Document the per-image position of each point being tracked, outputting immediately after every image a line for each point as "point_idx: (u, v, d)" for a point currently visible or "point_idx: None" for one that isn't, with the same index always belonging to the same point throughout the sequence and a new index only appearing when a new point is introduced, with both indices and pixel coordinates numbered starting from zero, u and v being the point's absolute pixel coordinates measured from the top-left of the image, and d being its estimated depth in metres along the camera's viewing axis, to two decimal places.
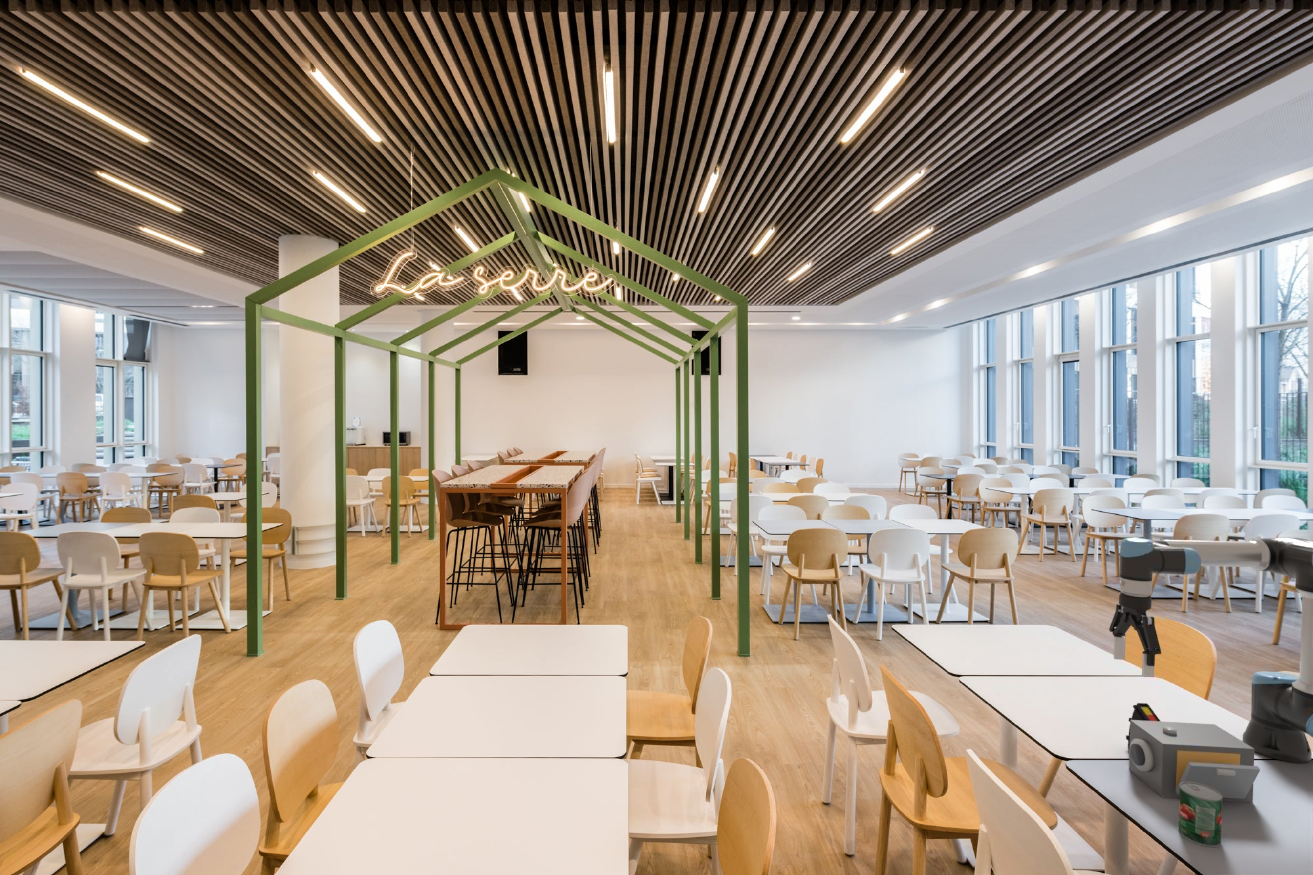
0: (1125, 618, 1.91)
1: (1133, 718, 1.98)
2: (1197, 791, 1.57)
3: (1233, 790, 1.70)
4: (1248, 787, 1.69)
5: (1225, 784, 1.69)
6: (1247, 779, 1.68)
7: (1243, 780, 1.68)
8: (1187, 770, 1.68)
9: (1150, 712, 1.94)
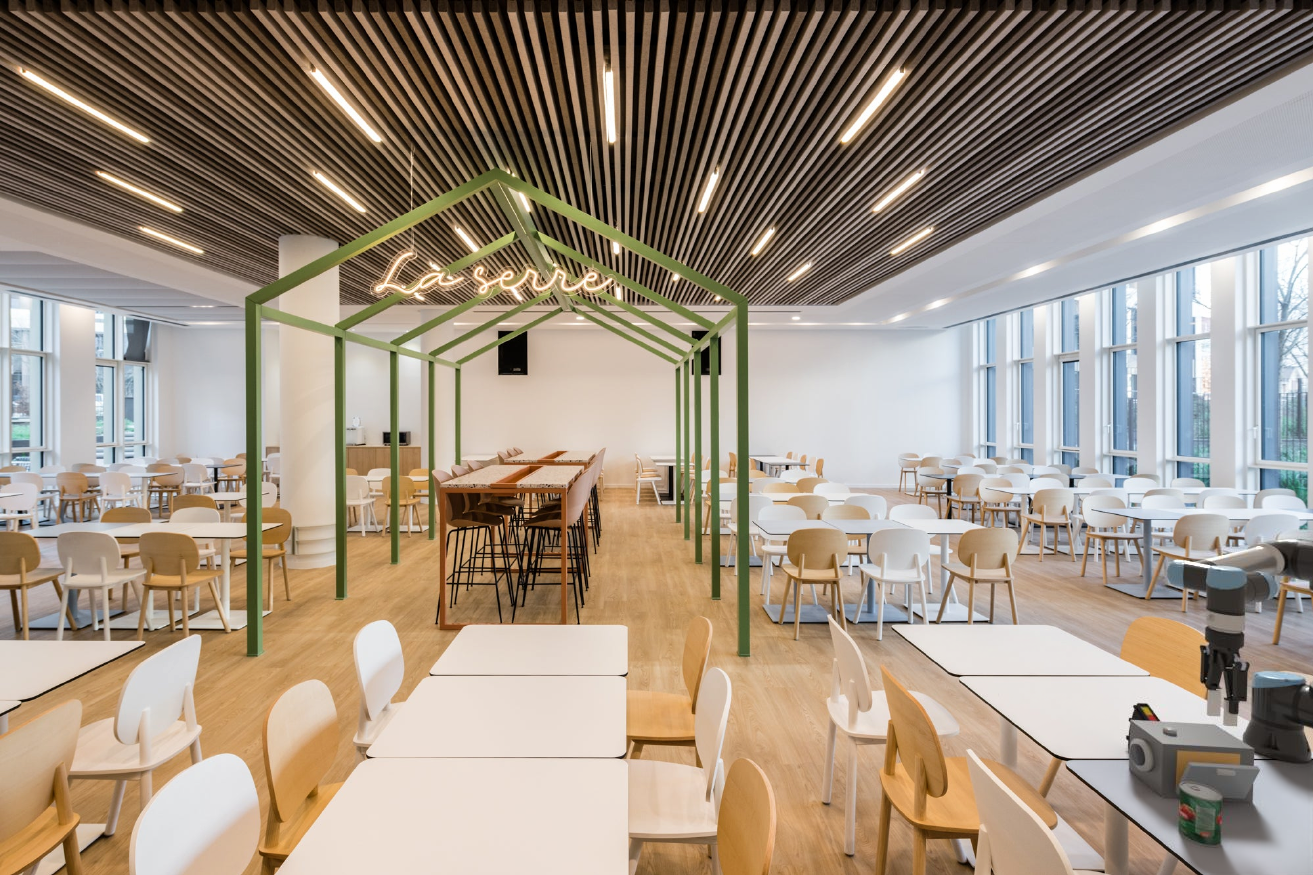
0: (1214, 657, 1.69)
1: (1133, 718, 1.98)
2: (1197, 791, 1.57)
3: (1233, 790, 1.70)
4: (1248, 787, 1.69)
5: (1225, 784, 1.69)
6: (1247, 779, 1.68)
7: (1243, 780, 1.68)
8: (1187, 770, 1.68)
9: (1150, 712, 1.94)
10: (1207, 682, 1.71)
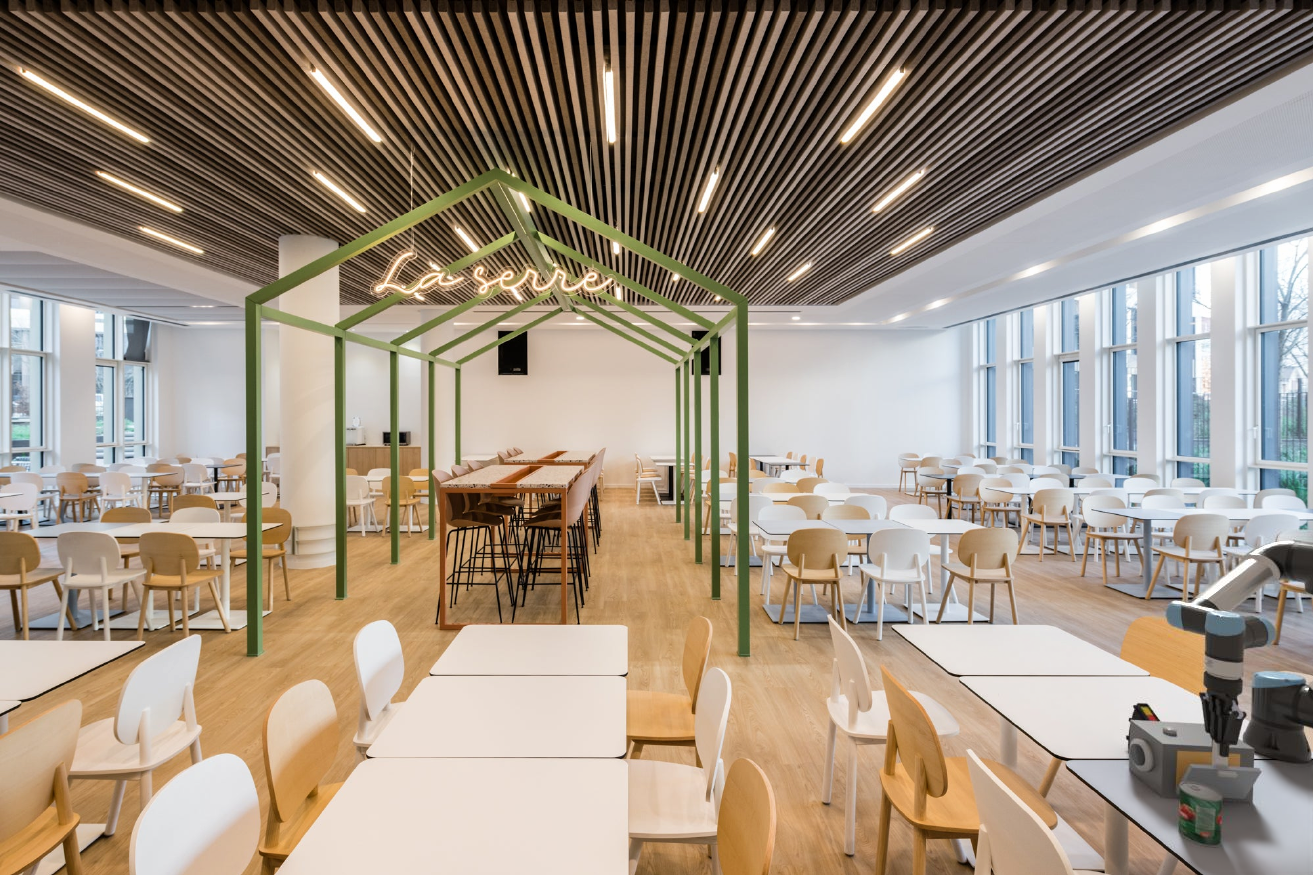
0: (1213, 702, 1.69)
1: (1133, 718, 1.98)
2: (1197, 791, 1.57)
3: (1234, 790, 1.69)
4: (1248, 788, 1.69)
5: (1226, 785, 1.69)
6: (1248, 780, 1.67)
7: (1244, 781, 1.68)
8: (1188, 771, 1.68)
9: (1150, 712, 1.94)
10: (1211, 732, 1.70)
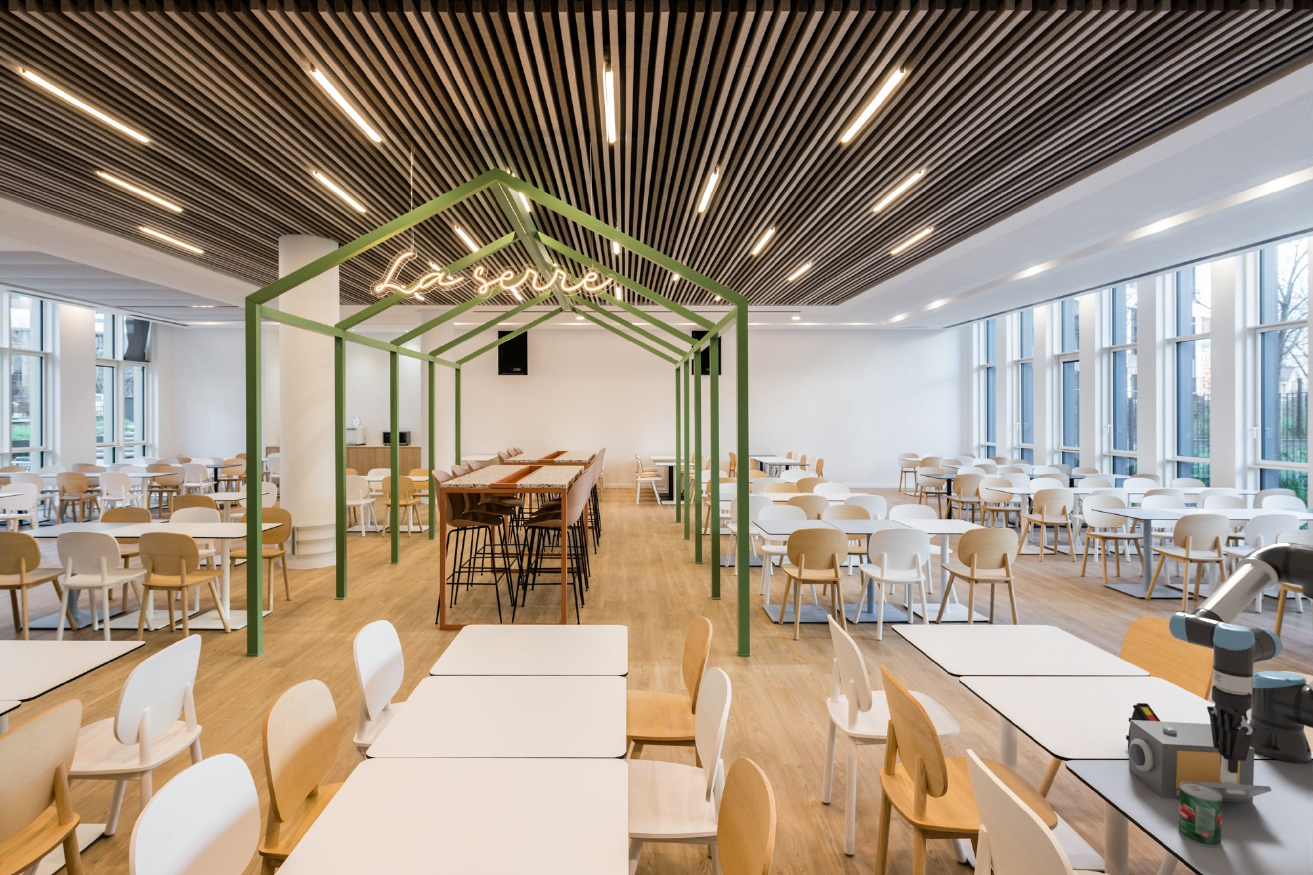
0: (1222, 717, 1.66)
1: (1133, 718, 1.98)
2: (1197, 791, 1.57)
3: (1236, 796, 1.69)
4: (1252, 796, 1.68)
5: (1229, 794, 1.68)
6: (1254, 793, 1.65)
7: (1249, 793, 1.66)
8: None
9: (1150, 712, 1.94)
10: (1220, 747, 1.67)
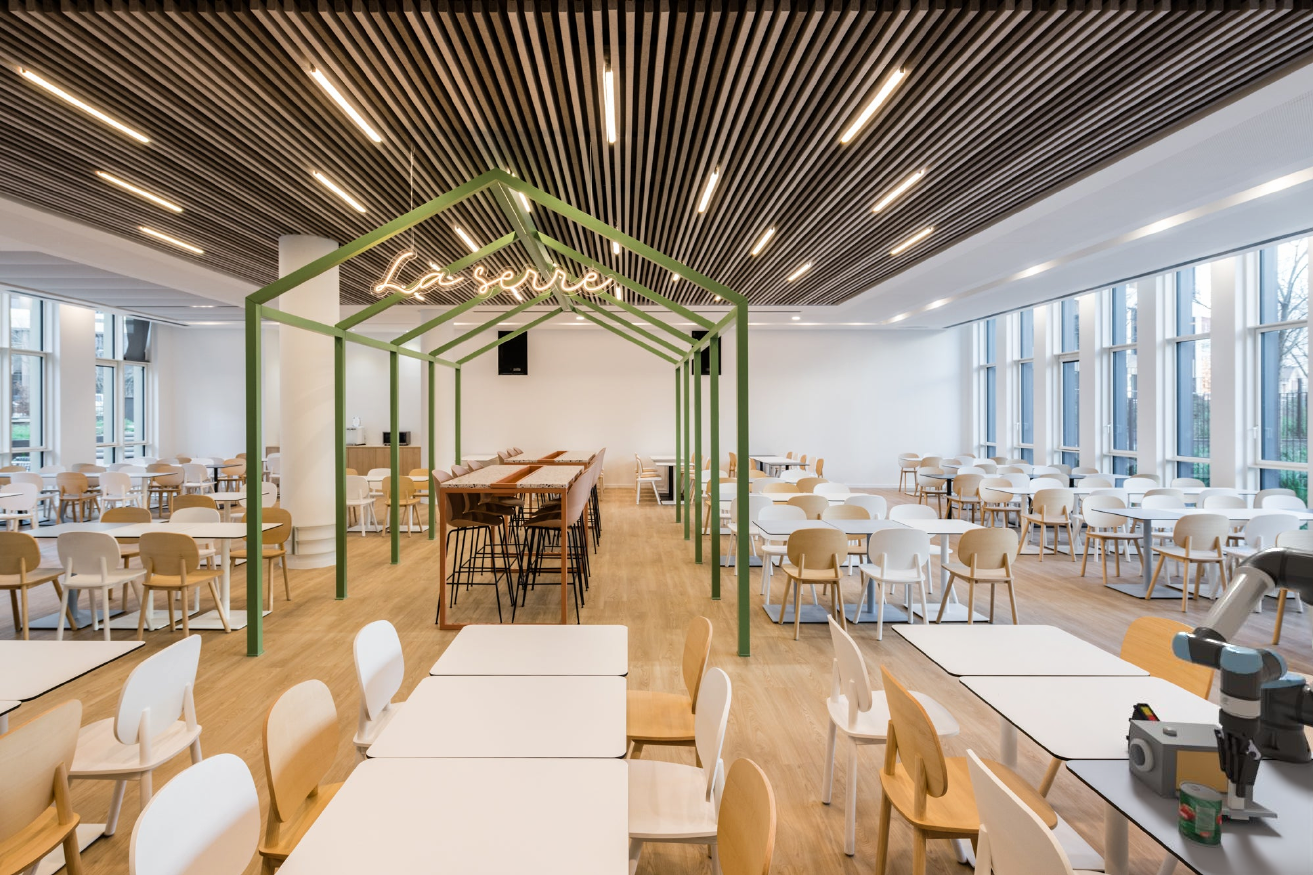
0: (1229, 741, 1.63)
1: (1133, 718, 1.98)
2: (1197, 791, 1.57)
3: None
4: None
5: None
6: None
7: None
8: None
9: (1150, 712, 1.94)
10: (1227, 771, 1.64)
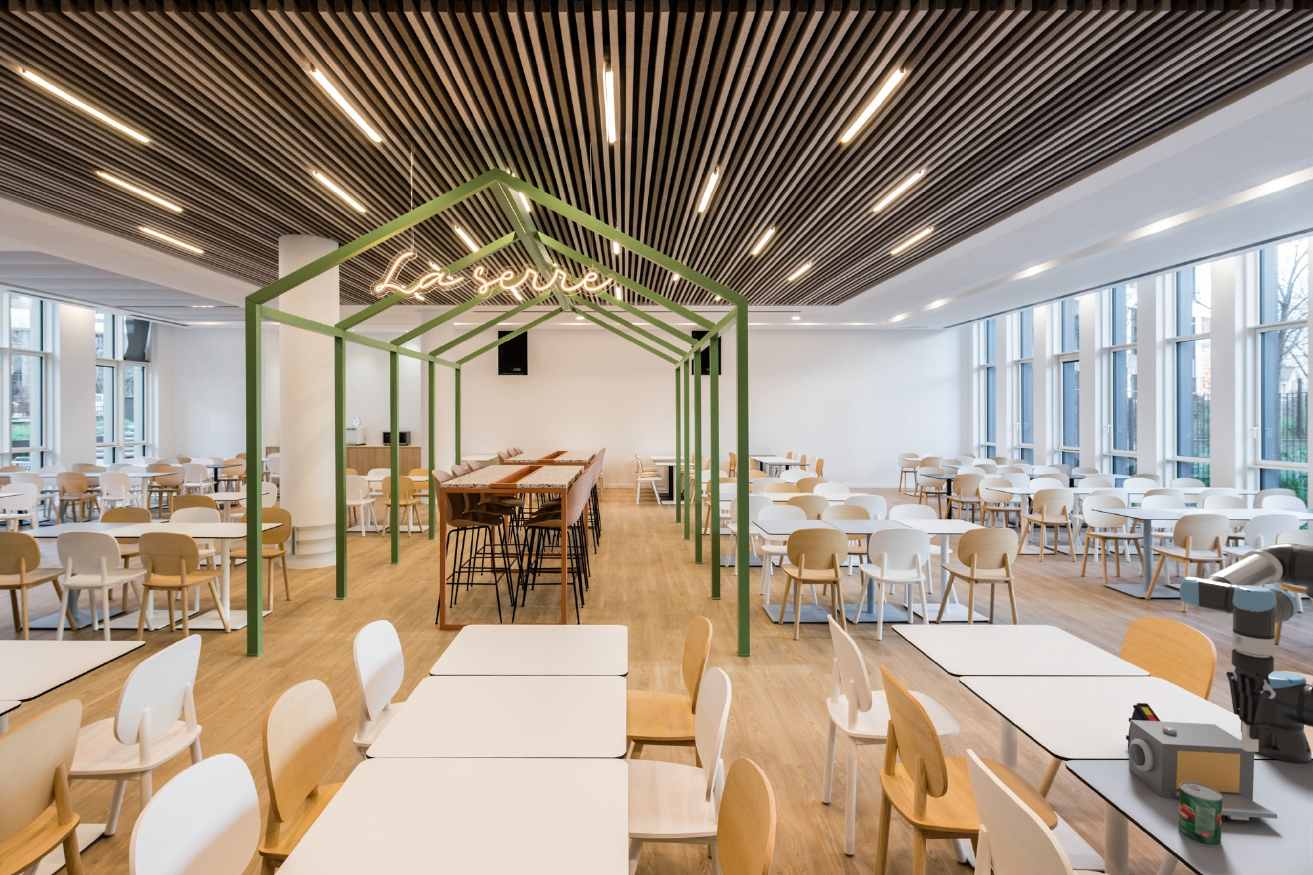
0: (1242, 682, 1.60)
1: (1133, 718, 1.98)
2: (1197, 791, 1.57)
3: None
4: None
5: None
6: None
7: None
8: None
9: (1150, 712, 1.94)
10: (1241, 713, 1.61)
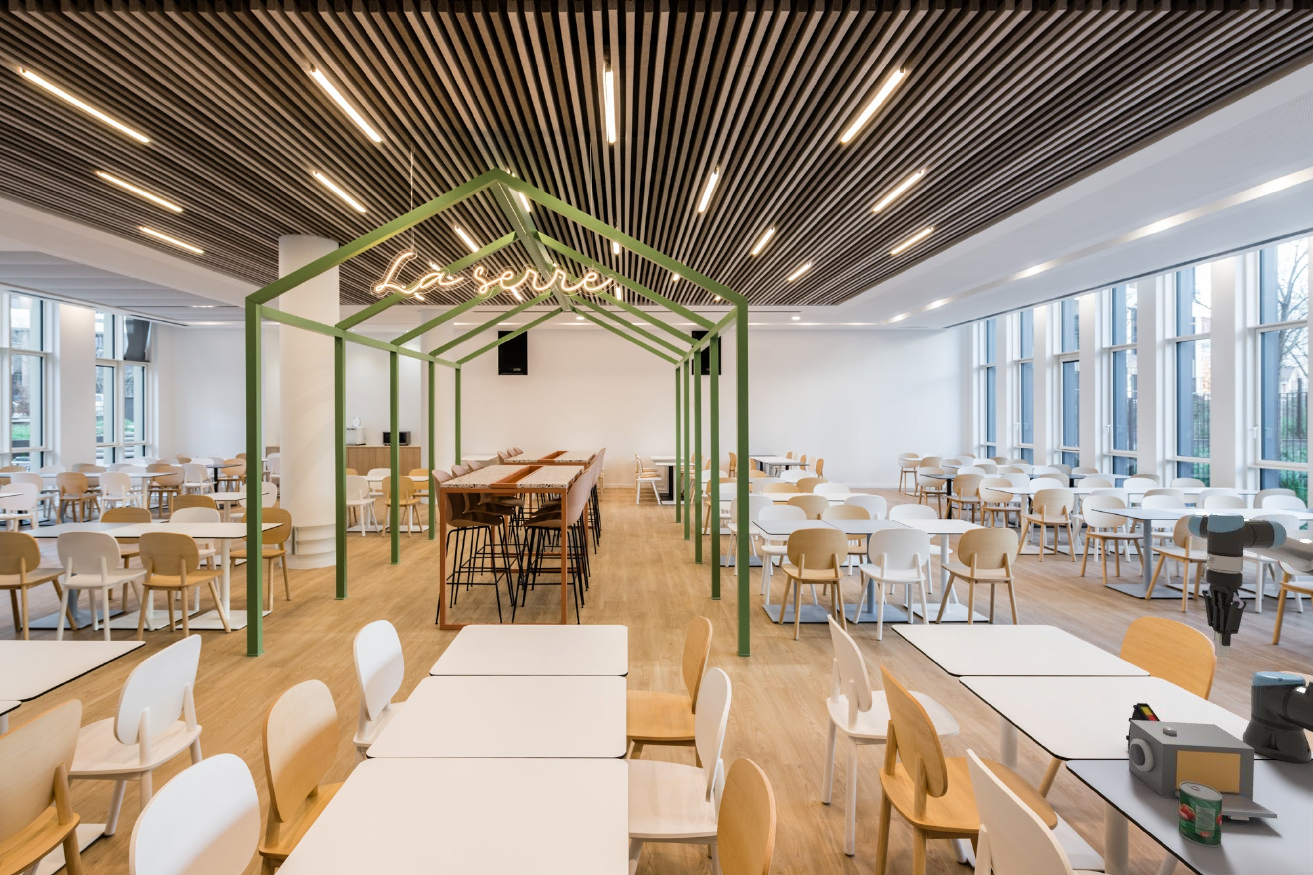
0: (1215, 597, 1.82)
1: (1133, 718, 1.98)
2: (1197, 791, 1.57)
3: None
4: None
5: None
6: None
7: None
8: None
9: (1150, 712, 1.94)
10: (1214, 624, 1.83)
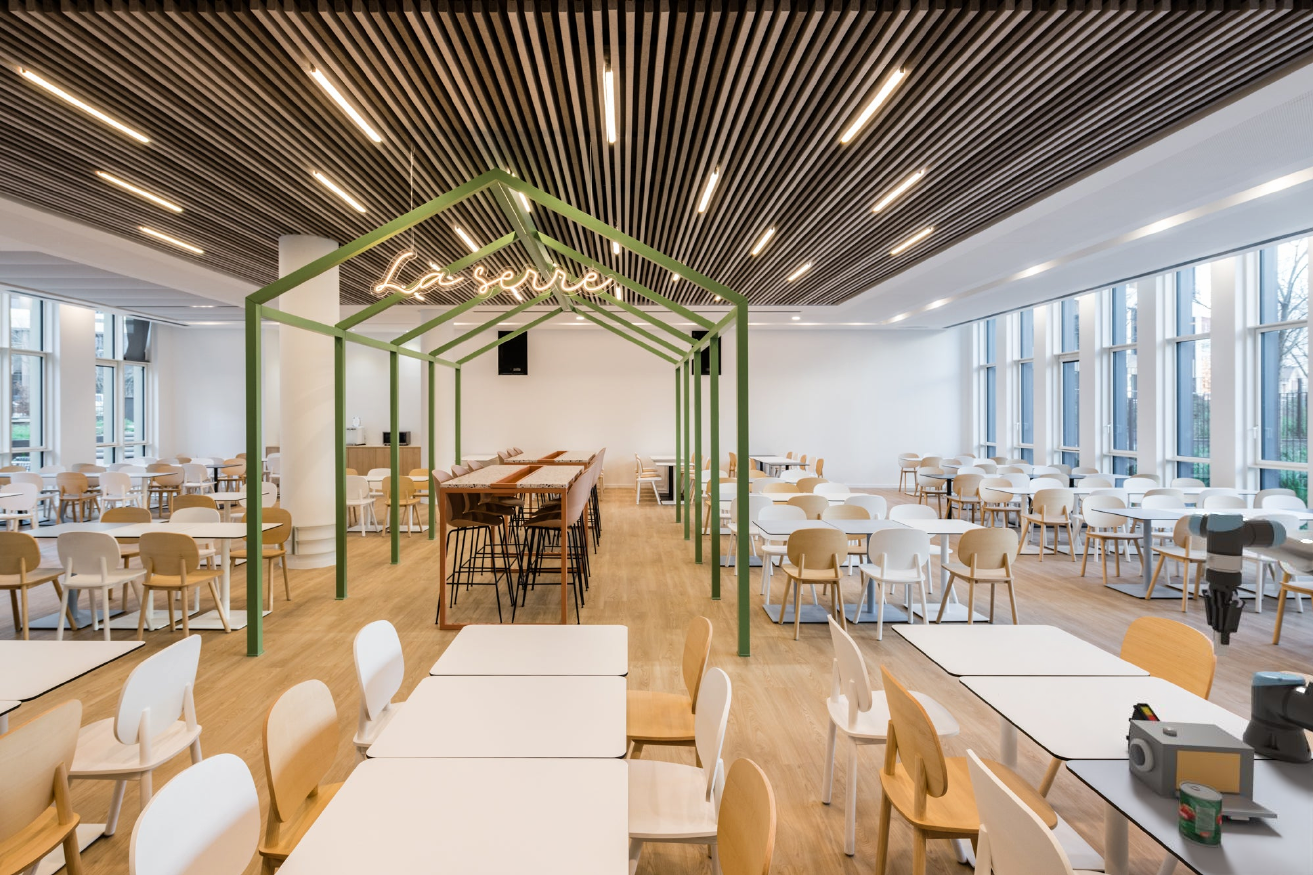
0: (1215, 596, 1.82)
1: (1133, 718, 1.98)
2: (1197, 791, 1.57)
3: None
4: None
5: None
6: None
7: None
8: None
9: (1150, 712, 1.94)
10: (1213, 623, 1.83)
